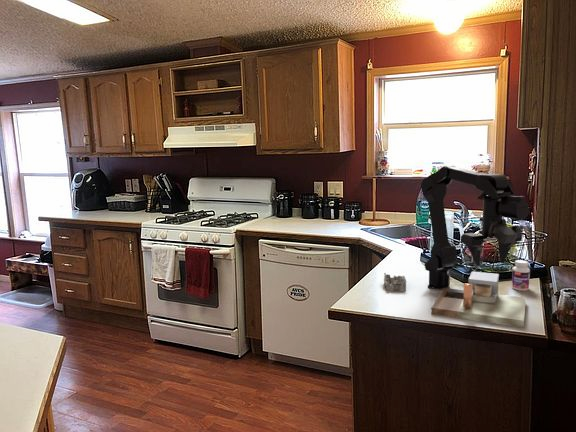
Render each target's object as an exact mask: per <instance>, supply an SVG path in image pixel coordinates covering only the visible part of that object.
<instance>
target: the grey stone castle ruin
mask: <svg viewBox="0 0 576 432" xmlns="http://www.w3.org/2000/svg"><path fill="white" fill-rule="evenodd" d="M383 274H384V275H383V276H384V278H383V282H384V283H383V284H384V287H386V290H387V291H390V292H394V291H400V292H403V291H406V290H407V278H406V277H405V275H398V276H396V275H393V276H392V277H391V275H390V274H386V272H384V273H383Z"/></svg>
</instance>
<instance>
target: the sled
mask: <svg viewBox="0 0 576 432" xmlns="http://www.w3.org/2000/svg"><path fill="white" fill-rule="evenodd" d="M463 290H464V293H463V299H462V300H463V307H464V308H472V301H480V302H487V303H495V300H496V296H497V291H493V294H492V297H485V296H477V295H474V294H475V289H472V284H471V283H466V282H465V283H463Z"/></svg>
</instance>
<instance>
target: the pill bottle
mask: <svg viewBox="0 0 576 432" xmlns="http://www.w3.org/2000/svg"><path fill="white" fill-rule="evenodd" d="M514 265H515V266H513V267H512V272H511V273H512V274H511V289H514V290H516V291H525V292H526V291H528V290H529V288H530V278H531V277H530V276H531V269H530V268H529V261H528V260H521V259H517V260H515V261H514Z"/></svg>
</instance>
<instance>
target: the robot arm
mask: <svg viewBox="0 0 576 432" xmlns="http://www.w3.org/2000/svg"><path fill="white" fill-rule="evenodd" d="M453 180H454V181H456V182H459V183H464V184H467V185H469V186H470V185H471V186H473V187H475V188H476V189H477V190H478V191H480V192H482V193H481V194H480V195H479V196H477V200H480V201H483V204H482V216H481V217H479V222H482V223H481V229H479V230H478V233H474V232H469V233H468V232H467V233H466V232H465V233H463V234H462V235H461V236H460V243H462V244H463V245H464V246H466V247H467V248H468V250H469V253H470V254H471V256H472V259H473V261H474V263H475V265H476V266H477V267H480V265H481V264H480V263H481V254H482V249H483V248H484V247H485V245H483V243H485V242H486V241H488V242H489V241H498V242H497V243H498V255H499V261H500V263H502V264H504V263H505V261H506V259H507V257H508V254H509V252H510V251H511V249H512V247H514V246H515V245H519V242H522V240H523V235H522V227H521V226H519V225H512V226H511V225H510V226H509V225H507V220H506V219H505V218H507V219H515V220H520V221H523V220H525V219H526V218H528V215H529V213H530V205H529V203H528V202H527V200H526V196H524V195H520V196H519V195H518V196H517V195H516V194H515V192H514V190H513V188H512V186H511V185H510V183H509V181H508V178H507V176H506V175H505V174H501V173H480V172H477V171H472V170H468V169H465V168H460V167H457V166H455V165H444V166H442V167H440V168H439V170H436V171H435V172H433V173H431V174H430V175H428V176H427V177H425V178H423V180H422V181H420V188H421V193H422V197H424V199H425V200H426V202H427V203H428V209H429V214H430V217H429V218H430V223H431V230H432V231H431V232H432V237H433V245H432V247H431V249H430V258H429V259H428V260H427V261H426V262H425V263H424V268H425V269H424V270H425V271H428V284H427V288H429V289H436V290H443V288H449V287H450V286H451V273H450V272H449V271H450V270H453V269H454V265H455V264H456V263H457V258H458V257H459V256H458V255H457V254H458V253H457V247H456V245H452V244H451V243H450V241H449V235H448V228H447V227H448V225H447V220H446V212H445V205H444V199H445V197H446V195H447V188H448V186H449V185H450V184H452V181H453Z"/></svg>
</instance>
